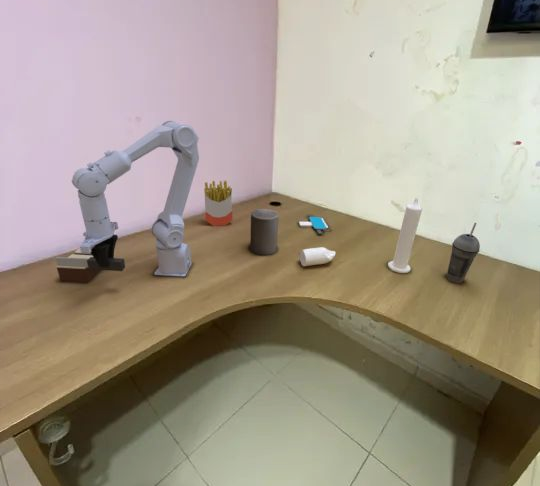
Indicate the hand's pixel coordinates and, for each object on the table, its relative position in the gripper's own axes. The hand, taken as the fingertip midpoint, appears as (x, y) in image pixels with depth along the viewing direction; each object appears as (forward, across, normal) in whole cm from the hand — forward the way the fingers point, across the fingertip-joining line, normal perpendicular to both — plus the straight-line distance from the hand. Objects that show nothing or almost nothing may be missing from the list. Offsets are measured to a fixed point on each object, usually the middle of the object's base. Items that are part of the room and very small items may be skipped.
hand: (106, 263), depth 83 cm
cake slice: (+8, -12, -12) cm, 19 cm away
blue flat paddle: (+9, -52, +61) cm, 81 cm away
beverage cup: (+9, -15, +103) cm, 104 cm away
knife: (+1, 0, -4) cm, 5 cm away
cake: (+8, -6, -12) cm, 16 cm away
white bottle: (+9, -20, +60) cm, 64 cm away
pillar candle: (+9, -29, +41) cm, 51 cm away
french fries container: (+9, -49, +21) cm, 54 cm away
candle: (+9, -20, +87) cm, 90 cm away
